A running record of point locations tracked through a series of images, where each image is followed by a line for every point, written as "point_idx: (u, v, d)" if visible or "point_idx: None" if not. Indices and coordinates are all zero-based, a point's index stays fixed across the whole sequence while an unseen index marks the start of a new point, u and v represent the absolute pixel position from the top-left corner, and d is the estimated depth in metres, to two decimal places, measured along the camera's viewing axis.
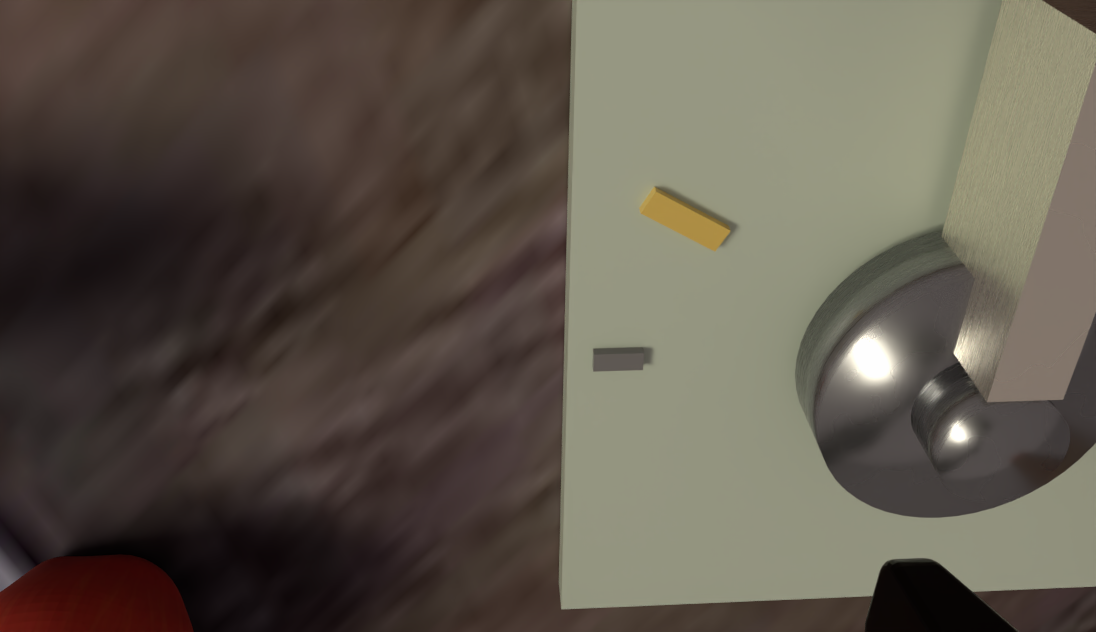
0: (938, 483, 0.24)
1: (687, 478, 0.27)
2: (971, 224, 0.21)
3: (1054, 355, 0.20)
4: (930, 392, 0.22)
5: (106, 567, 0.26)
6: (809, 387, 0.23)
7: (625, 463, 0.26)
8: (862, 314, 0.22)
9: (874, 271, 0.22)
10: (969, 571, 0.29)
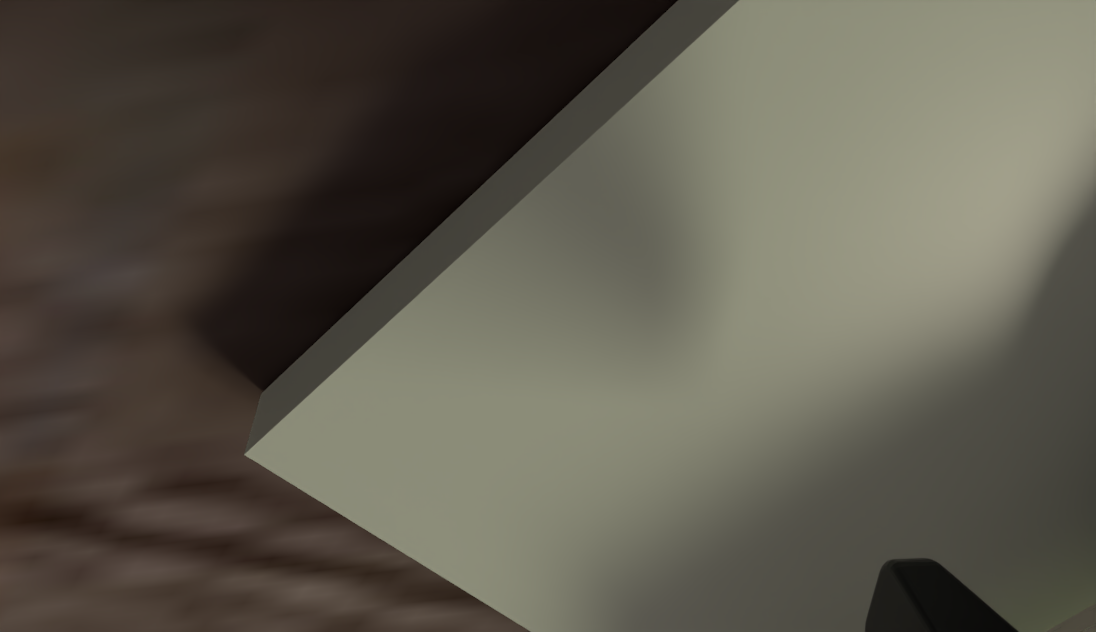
0: None
1: None
2: None
3: None
4: None
5: None
6: None
7: None
8: None
9: None
10: None
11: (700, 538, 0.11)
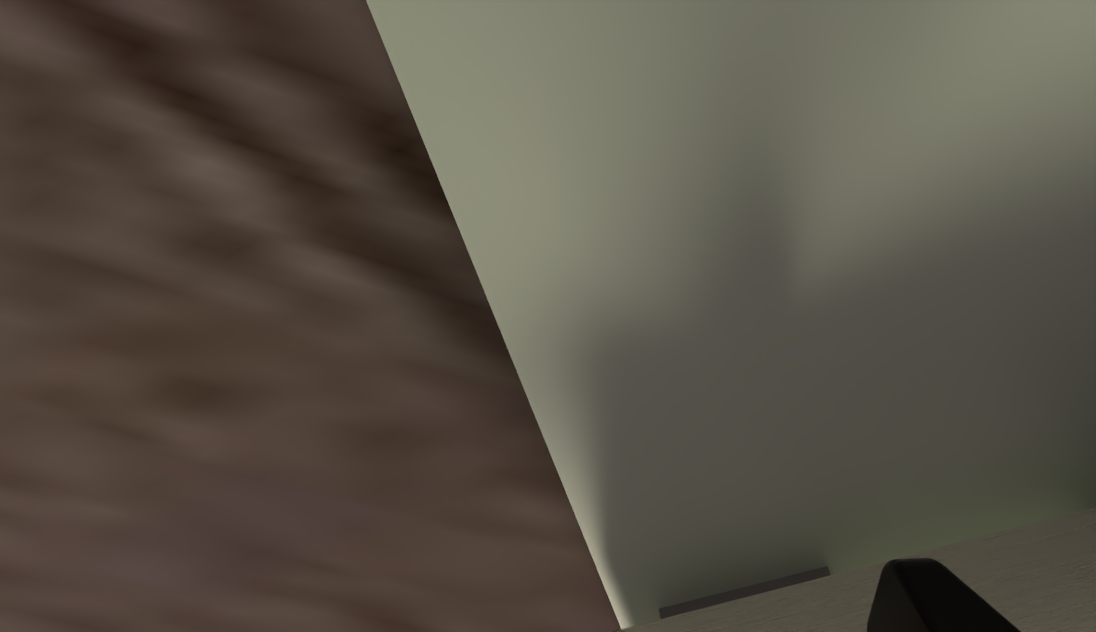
0: None
1: None
2: None
3: None
4: None
5: None
6: None
7: None
8: None
9: None
10: None
11: (747, 265, 0.09)
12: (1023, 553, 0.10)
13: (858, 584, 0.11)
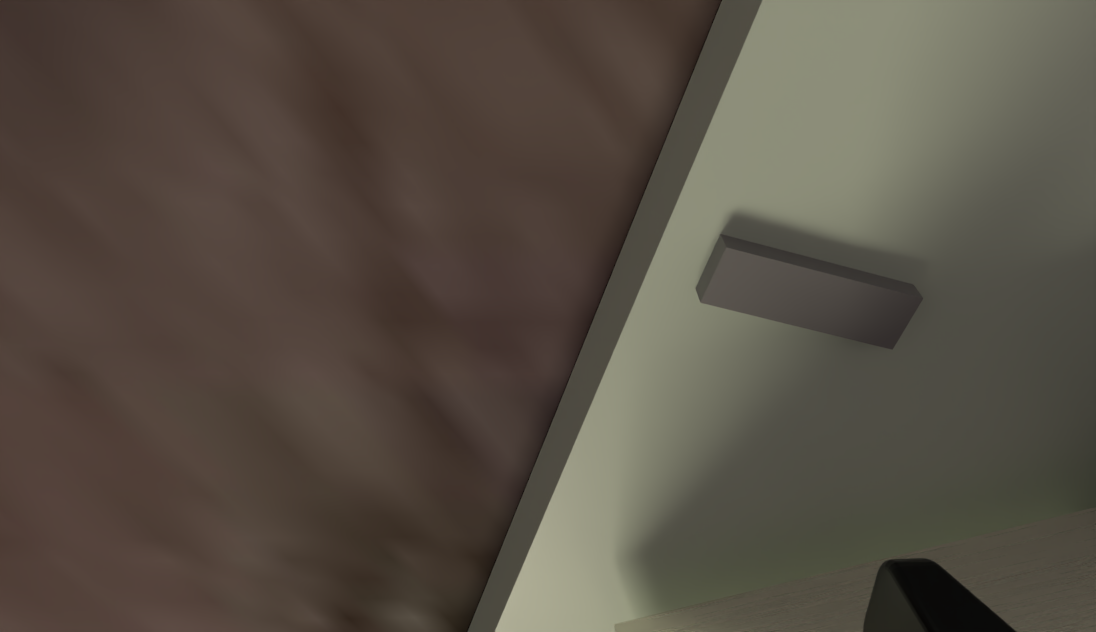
0: None
1: None
2: None
3: None
4: None
5: None
6: None
7: None
8: None
9: None
10: None
11: None
12: (1026, 551, 0.10)
13: (862, 581, 0.11)
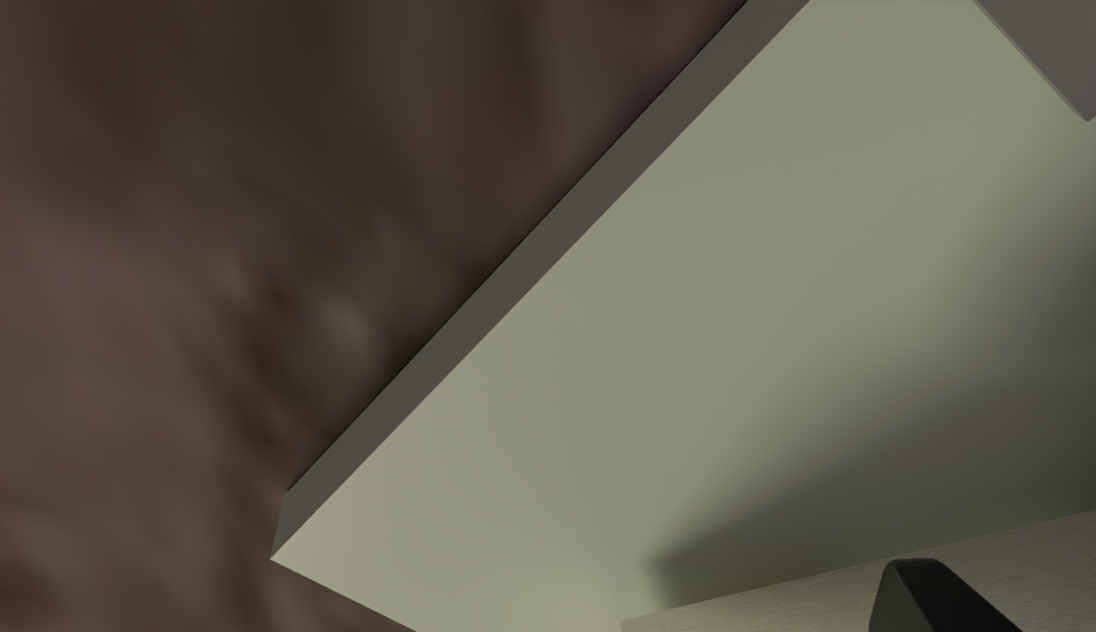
0: None
1: None
2: None
3: None
4: None
5: None
6: None
7: None
8: None
9: None
10: None
11: None
12: (1033, 551, 0.10)
13: (868, 579, 0.11)
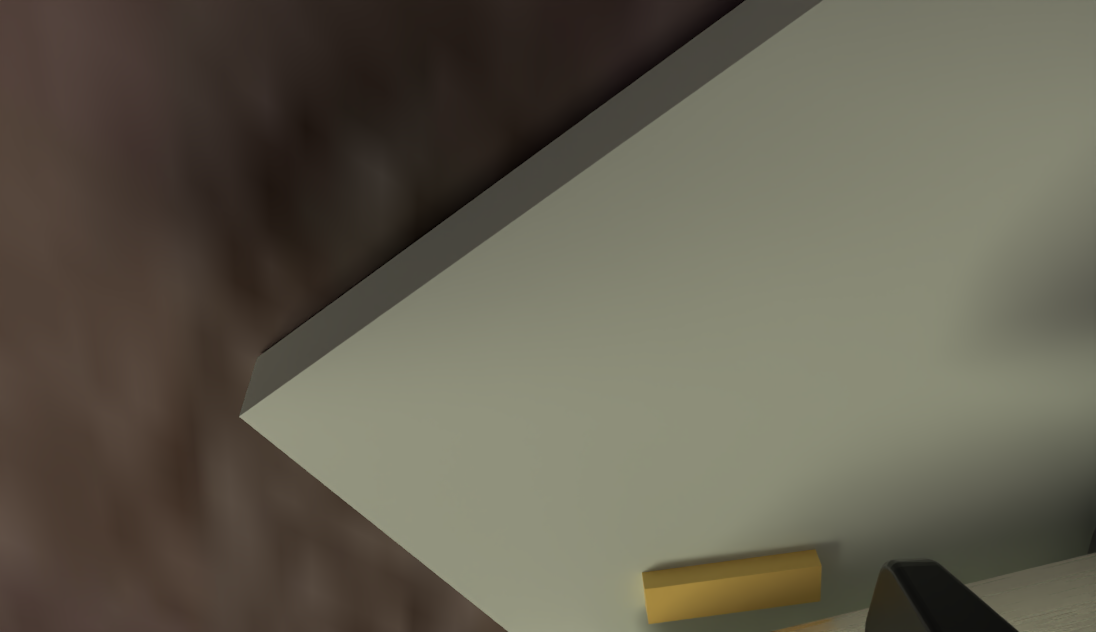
0: None
1: None
2: None
3: None
4: None
5: None
6: None
7: None
8: None
9: None
10: None
11: None
12: (1003, 602, 0.11)
13: (846, 629, 0.11)
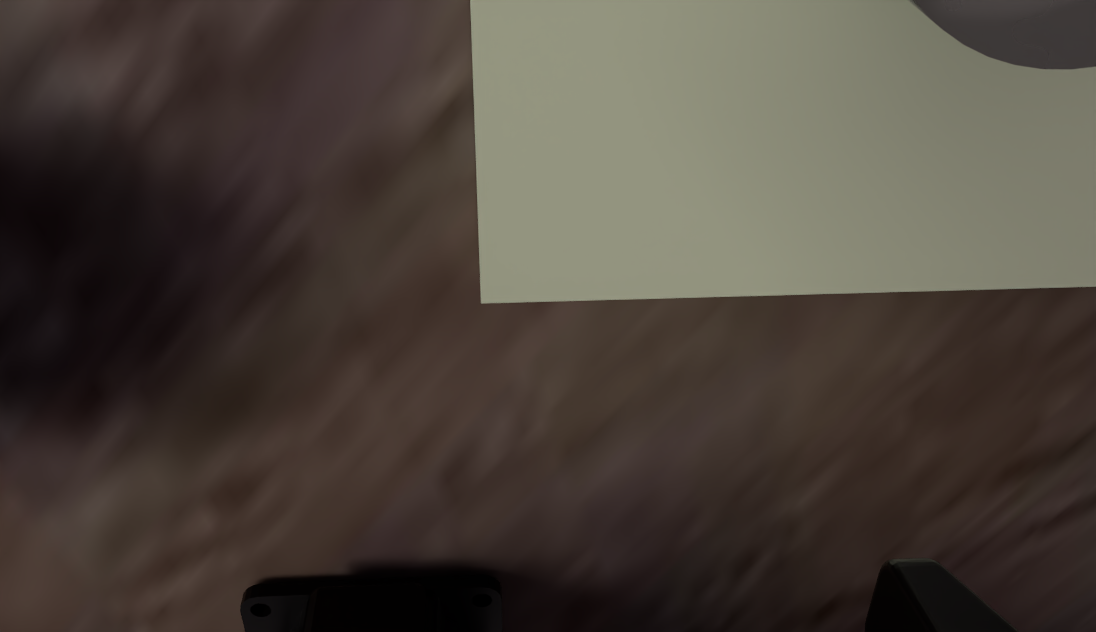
0: None
1: (662, 57, 0.17)
2: None
3: None
4: None
5: None
6: None
7: (565, 23, 0.17)
8: None
9: None
10: (1079, 250, 0.20)
11: None
12: None
13: None
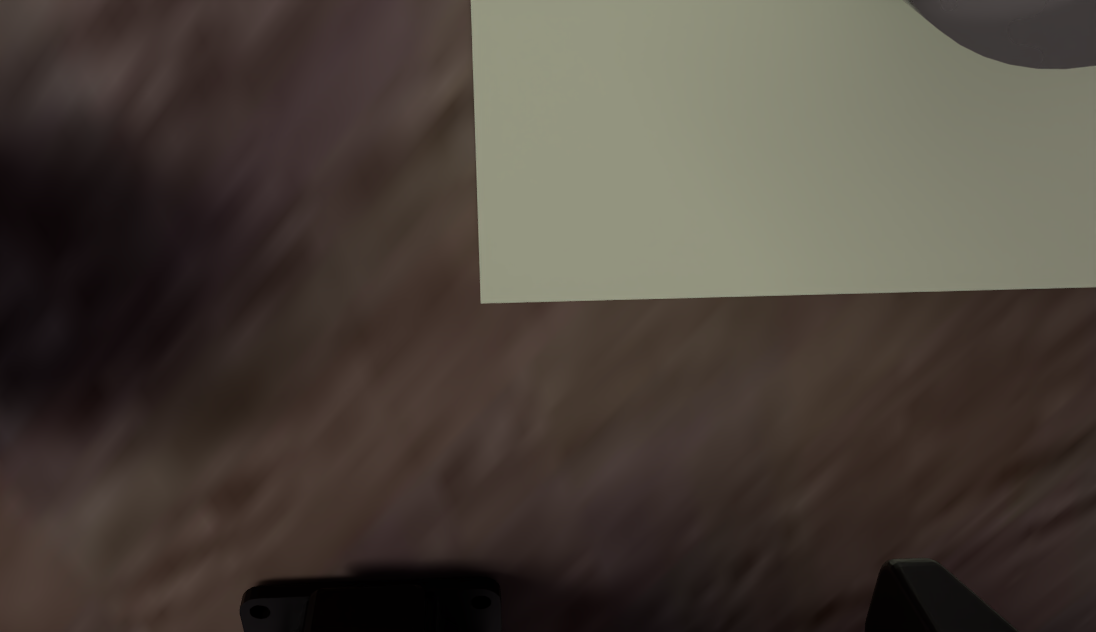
0: None
1: (661, 58, 0.17)
2: None
3: None
4: None
5: None
6: None
7: (565, 24, 0.17)
8: None
9: None
10: (1075, 250, 0.20)
11: None
12: None
13: None
